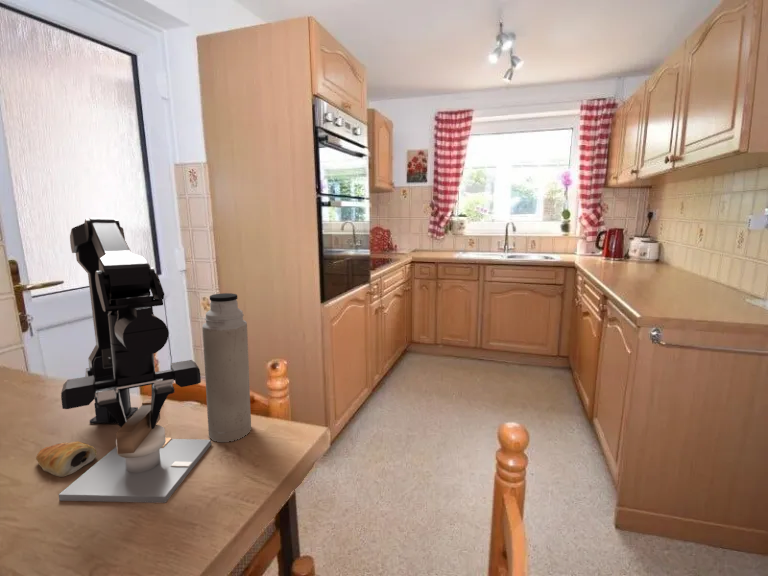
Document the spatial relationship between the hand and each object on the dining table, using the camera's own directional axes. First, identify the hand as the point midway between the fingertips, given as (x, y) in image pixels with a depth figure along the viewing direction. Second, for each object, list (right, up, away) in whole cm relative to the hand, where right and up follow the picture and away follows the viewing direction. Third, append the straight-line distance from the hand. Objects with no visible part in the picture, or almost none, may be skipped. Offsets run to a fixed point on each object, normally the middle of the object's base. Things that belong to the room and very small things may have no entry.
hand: (139, 430), depth 67 cm
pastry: (-14, -7, +3) cm, 16 cm away
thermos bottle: (+10, -5, +14) cm, 18 cm away
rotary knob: (0, -3, +1) cm, 3 cm away
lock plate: (0, -7, +1) cm, 7 cm away
